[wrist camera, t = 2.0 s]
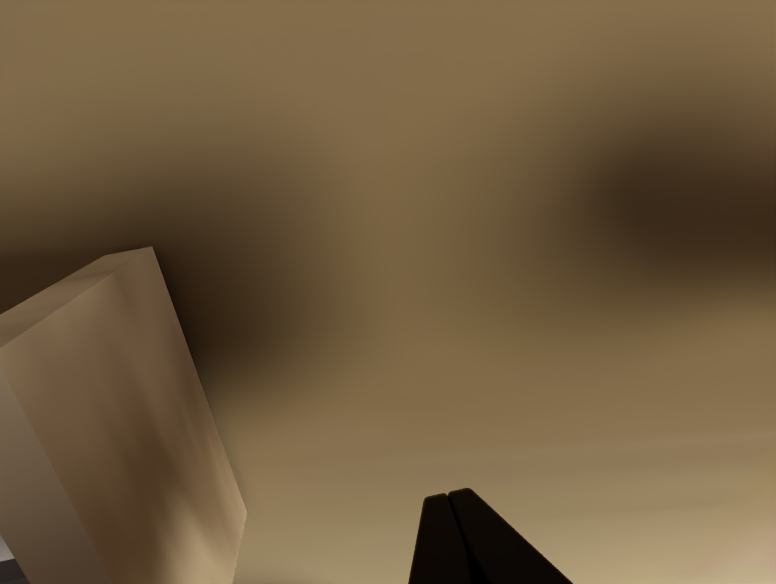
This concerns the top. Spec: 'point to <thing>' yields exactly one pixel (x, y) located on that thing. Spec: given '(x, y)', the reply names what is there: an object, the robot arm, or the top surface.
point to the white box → (110, 438)
